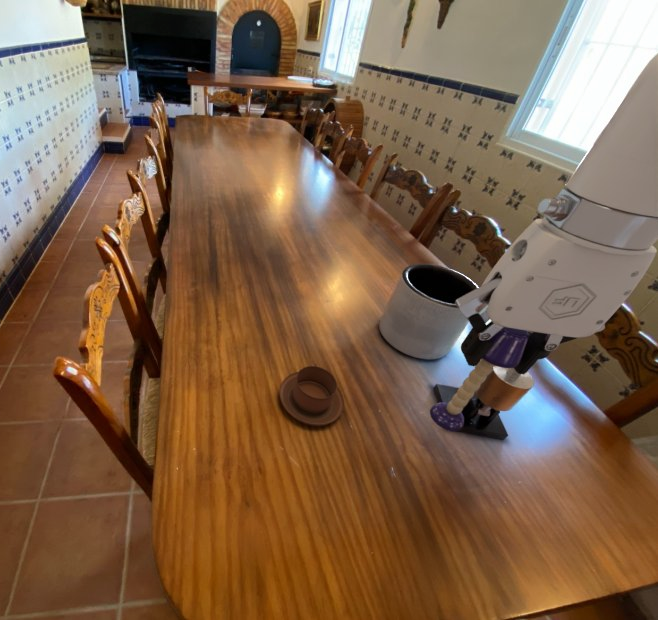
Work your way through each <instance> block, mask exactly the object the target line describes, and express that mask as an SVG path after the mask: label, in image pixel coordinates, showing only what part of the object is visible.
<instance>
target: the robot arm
mask: <svg viewBox="0 0 658 620" xmlns="http://www.w3.org/2000/svg"><path fill="white" fill-rule="evenodd" d="M537 213H538V214H541V215H544V216H543V217H542V218H535V219H534V221H532V223H530V224H529V225H528V226H527V227H526V228H525V229H524V230H523V231H522V233H520V234H519V236H518V237H517V238H515V240H514V241H513V243H512V244H511V245H510V246H509V247H508V248H507V249H506V251H505V252H504V254H502V255H501V257H500V258H499V260H498V261H496V263H495V265H494V266H493V267H492V269H491V270H490V271H489V273H488V275H487V276H486V277H485V279H484V281H483V282H482V284H481V286H478V287H479V288H477V289H475V290H473V291H471V292H469V293H467V294H466V295H464V296H462V297H460V298H458V299H457V300H456V301H455V304H456V306H457V308H458V309H459V311H460V312H461V313H462V314H463V315H464V316H465V318H467V319H468V320H469V322H468V323H469V324H470V325H471V327H472V328H471V329H470V331H469V332H468V334H467V335H466V337H465V338H464V340H463V341H462V342H461V345H460V351H461V352H462V354H463V357H464V359H465V361H466V363H467V365H468V366H469V367H475V365H477V364H478V363H479V362H480V361H481V359H482V358H483V356H484V355H485V354H486V352H487V351H488V350H489V348H490V347H491V346H492V341H491V338H492V337H493V336H494V335H495V334H496V333H498V332H499V331H500V330H501V329H502V328H504V327H508V328H513V329H519V330H526V331H527V332H528V335H529V336H528V341H527V344H526V347H525V350H524V352H523V355H522V358H521V361H520V363H519V364H518V365H517V366H516V367H514V369H515V371H516V372H517V373H518V374H525V373H526V372H527V371H528V372H529V370H531V368H532V367H533V366H534V365H535V364H536V363H537V362H538V359H539V358H540V357H541V356H542V355H543V354H544V353H545V351H546V350H547V351H551V352H553V351H555V350H557V349H558V348H559V346H560V345H561V344H564V343H567V342H570V341H574V340H576V339H578V338H587V337H590V336H592V335H594V334H596V333H599V332H602V331H604V330H605V328H606V323H607V322H608V321H609V320H610V319H611V317H612V316H613V315H614V314H616V312H617V311H618V310H619V308H621V306H622V305H623V304H624V303H625V302H626V300H627V299H628V298H629V297H630V295H631V294H632V292H633V291H634V290H635V288H636V287H637V286H638V285H639V283H640V282H641V280H642V279H643V277H644V276H645V274H646V272H647V271H648V269H649V268H650V266H651V265H652V263H653V261H654V259H655V256H656V254H657V252H658V250H657V248H656V246H654V244H655V243H656V242H657V241H658V53H656V54H655V55H654V56H653V57H652V58H651V59H650V60H649V61H648V62H647V64H646V65H645V66H644V68H643V69H642V71H641V72H640V73H639V75H638V76H637V78H636V79H635V81H634V83H633V84H632V85H631V87H630V88H629V89H628V91H627V92H626V95H625V96H624V97H623V99H622V100H621V102H620V103H619V105H618V106H617V107H616V110H615V111H614V112H613V114H612V115H611V117H610V118H609V119H608V121H607V122H606V124H605V126H604V127H603V129H602V130H601V132H600V133H599V134H598V136H597V137H596V139H595V140H594V142H593V143H592V145H591V147H590V148H589V150H588V151H587V152H586V154H585V156H584V157H583V158H582V160H581V161H580V163H579V164H578V166H577V167H576V168H575V170H574V172H573V173H572V175H571V176H570V178H569V180H568V181H567V182H566V184H565V185H564V186H563V188H561V189H560V191H559V193H558V194H557V196H556V197H552V198H551V197H549V198H548V197H544V198H543V199H542V200H540V202H539V203H538V205H537ZM484 304H486V306H484V307H483V308H482V309H481V310H480V311H479V310H478V309H476V308H477V307H478V306H479V307H481V306H482V305H484ZM479 307H478V308H479ZM488 321H490V322H488ZM487 322H488V323H487ZM539 360H540V359H539Z"/></svg>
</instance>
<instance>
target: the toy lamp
mask: <svg viewBox="0 0 658 620" xmlns="http://www.w3.org/2000/svg"><path fill="white" fill-rule="evenodd" d="M528 332H529V331H528ZM528 332H527V331H526V330H519V329H513V328H508V327H504V328H502V329H501V330H500V331H499V332H498V333H496V334H495V335H494V336H493V337H492V338H491V341H492V346H491V347H490V348H489V350H488V351H487V352H486V354H485V355H484V356H483V358H482V359H481V360H480V362H479V363H478V364H477V365H475V366H474V369H473V368H472V370H471V371H470V372H469V374H468V376H467V377H466V378H465V379H464V380H463V381H462V385H460V386H459V387H458V388H459V389H458V391H457V393H456V394H455V395H454V396H453V398H452V400H451V401H450V402H449V403H444V402H442V403H438V402H437V403H436V404H434V405H432V407H431V408H430V409H429V415H430V418H431V419H432V421H433V422H434V423H435V424H436V425H437V426H438V427H440V428H442V429H443V430H445V431H449V432H458V430H460V429H461V428H462V427H463V424H464V417H463V414H462V413H461V411H462V409H463V407H464V406H465V405H467V403H468V400H469V399H471V398H472V397H473V395H474V392H475V391H477V390H478V389H479V387H480V384H481V383H483V382H484V381H485V379H486V377H487V375H489V374H490V373H491V372H492V371H493V367H495V366H498V367H502V368H514V367H516V366H517V365H518V364H519V363H520V361H521V358H522V355H523V352H524V350H525V347H526V344H527V341H528V336H529V335H528Z"/></svg>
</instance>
